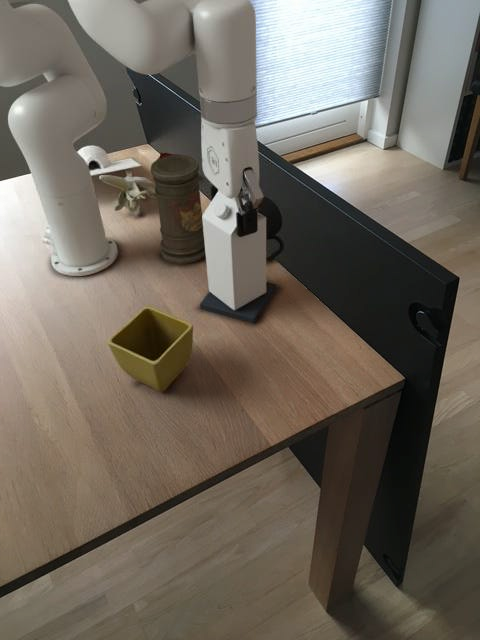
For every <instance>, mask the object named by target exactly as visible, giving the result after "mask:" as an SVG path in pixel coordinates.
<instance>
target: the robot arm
mask: <svg viewBox="0 0 480 640" xmlns="http://www.w3.org/2000/svg"><path fill="white" fill-rule="evenodd" d="M67 3H68V4H69V7H70V9H71V11H72V13H73V14H74V16H75V19H76V20H77V22H78V23H79V25H80V26H81V28H82V29H83V31H84V32H85V33H86V35H88V36H89V37H90V38H91V39H92V40H93V41H94V42H95V43H96V44H98V46H100V47H101V48H102V49H103V50H105V52H107V53H108V54H109V55H110V56H111V57H113V58H114V59H115V60H116V61H117V62H119V63H121V64H122V65H123V66H125V67H126V68H128V69H130V70H132V71H133V72H135V73H138V74H142V75H148V76H149V75H150V76H153V75H157V74H160V73H162V72H164V71H167V69H170V68H171V67H173V66H174V65H176V64H177V63H179V62H180V61H183V60H185V59H188V58H191V57H193V56H195V59H196V70H197V83H198V84H197V85H198V93H199V97H198V98H199V108H200V120H201V125H200V127H201V128H200V136H201V137H200V144H201V167H202V172H203V175H204V176H205V178H206V179H207V180H208V183H209V185H210V188H209V189H210V202H211V201H212V200H213V198H214V197H215V195H216V194H217V192H218V190H220V191H221V192H222V193H223V194H224V195H225V196H226V197H228V198H234V197H235V200H236V204H237V207H238V211H239V212H236V223H237V235H238V236H239V237H243V236H246V235H249V234H252V233H256V232H257V230H258V218H257V211H258V210H259V207H260V206H261V202H262V200H263V196H264V193H263V191H262V189H261V187H260V156H259V145H258V135H257V128H256V120H257V118H258V87H257V85H258V83H257V81H258V80H257V75H258V73H257V19H256V10H255V6H254V5H253V4H252V3H251V1H249V0H145V1H142V2H137V1H136V0H67ZM41 75H43V76H44V78H45V79H46V81H47V82H44V83H43V84H40V85H39V86H36V87H34V88H32V89H31V90H29V91H26V92H24V93H23V94H21V95H20V96H19V97H17V98H16V100H14V101H13V103H12V104H11V106H10V108H9V110H8V115H7V122H8V123H7V124H8V128H9V130H10V133H11V135H12V138H13V139H14V141H15V142H16V144H17V146H18V148H19V149H20V152H21V153H22V155H23V157H24V160H25V162H26V164H27V167H28V168H29V171H30V174H31V177H32V180H33V183H34V186H35V188H36V189H35V190H36V191H37V195H38V197H39V200H40V204H41V207H42V210H43V213H44V216H45V219H46V222H47V226H48V227H46V228H45V230H44V235H45V236H42V238H41V243H43V244H46V245H49V246H50V245H51V248H52V252H51V255H50V263H51V266H52V267H53V269H54V270H55V271H56V272H58V273H60V274H62V275H65V276H71V277H83V276H88V275H92V274H96V273H99V272H102V271H103V270H105V269H107V268H108V267H109V266H111V265H112V264H113V263H114V261H115V260H116V259H117V258H118V253H119V250H118V246H117V243H116V242H115V241H114V240H113V239H112V238H111V237H108V236H107V234H106V231H105V226H104V223H103V218H102V215H101V211H100V206H99V203H98V198H97V193H96V189H95V186H94V185H95V184H94V181H93V178H92V176H91V174H90V170H89V167H88V165H87V163H86V161H85V160H84V159H83V158H82V157H81V156H80V155H79V154H78V153H77V152H78V150H76V148H75V146H74V145H75V142H77V140H79V139H81V138H82V137H83V136H85V135H87V134H88V133H90V132H91V131H92V130H94V129H96V128H97V127H98V126H99V125H101V124H102V122H104V120H105V118H106V116H107V110H108V106H107V105H108V104H107V103H108V102H107V98H106V96H105V92H104V90H103V88H102V86H101V84H100V82H99V80H98V78H97V76H96V74H95V73H94V71H93V69H92V67H91V65H90V64H89V62H88V59H87V58H86V56H85V54H84V53H83V50H82V49H81V47H80V45H79V44H78V41H77V39H76V38H75V36H74V34H73V33H72V31H71V29H70V27H69V26H68V25H67V23H66V22H65V20H64V19H63V18H62V17H61V16H60V15H59V14H58V13H57V12H55V11H54V10H53V9H51V8H50V7H48V6H46V5H43V4H40V3H28V4H24V5H21V6H17V7H15V8H14V7H13V6H12V5H11V4H10V2H9V1H8V0H0V87H2V88H11V87H15V86H19V85H21V84H24V83H26V82H28V81H30V80H33V79H35V78H36V77H39V76H41ZM243 187H246V189H245V190H242V188H243ZM247 195H248V197H249V200H246V201H247V202H246V203H245V204H244V205H243V201H242V198H243V196H247Z"/></svg>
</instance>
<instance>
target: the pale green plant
mask: <svg viewBox="0 0 480 640" xmlns="http://www.w3.org/2000/svg"><path fill="white" fill-rule="evenodd" d="M123 170H124V172H125V175H126V176H125V177H120V176H116V175H111V174H99V177H98V178H99V180H101V181H102V182H103V183H105V184H107V185H110V186H113V187H116V188H118V189H121V191H120V192H119V194H118V196H117V199H116V202H115V205H114V207H113V208H114V211H115V212H116V211H120V210H122V209H123V208H124V207H125V208H126V209H128V210H131V212H132V213H133V214H134V215H135V216H136V217H138V216H140V215H141V205H140V200H141V199H145V200H146V197H147V195H148V196H149V198H152V197H153V198H154V199H155V198H156V193H155V182H154V181H151V180H150V179H148V178H146V177H144V176H143V177H142V176H141V177H140V176H133V171H132V168H128V169H123Z"/></svg>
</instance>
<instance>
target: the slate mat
mask: <svg viewBox="0 0 480 640" xmlns="http://www.w3.org/2000/svg"><path fill="white" fill-rule="evenodd" d="M277 289H278V284H277V283H274V282H270V281H266V293H264V294H263V295H261V296H259V297H257V298H256V299H254V300H252V301H250V302H249V303H247V304H245V305H243V306H242V307H240V308H238V309H236V310H233V309H232V308H230V307H229V306H228V305H227V304H225V303H224V302H223V301H221V300H220V299H219V298H217V297H216V296H215V295H214V294H212V293H211V292H210V291H209V292H208V293H207V294H206V296H205V297H204V299H203V300H202V301H201V302H200V304H199V308H200V310H204V311H208V312H210V313H215V314H218V315H222V316H225V317H229V318H232V319H237V320H240V321H243V322H247V323H250V324H255V323H256V322H257V320H258V318H259V316H260V315H261V314H262V312H263V310H264V309H265V307H266V306H267V304H268V303H269V301H270V299H271V298H272V297H273V295H274V293H275V292H276V291H277Z"/></svg>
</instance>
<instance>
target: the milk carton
mask: <svg viewBox="0 0 480 640" xmlns="http://www.w3.org/2000/svg"><path fill="white" fill-rule="evenodd" d="M241 198H242V201H243V205H244V204H245V203H246V202H247V201H248V200H246V199H244V198H243V197H241ZM236 212H239V211H238V207H237V204H236V200H235V197H234V198H228V197H226V196H225V195H224V194H223V193H222V192H221V191H220V190H218V192H217V194H216V195H215V197H214V198H213V200H212V201H211V200H210V203H209V204H208V205H207V207H206V209H205V211H204V212H203V213H202V221H203V232H204V243H205V253H206V255H205V262H206V263H205V264H206V273H207V284H208V291H209V292H211V293H212V294H214V295H215V296H216V297H217V298H219V299H220V300H221V301H223V302H224V303H225V304H227V305H228V306H229V307H230V308H232V309H233V310H236V309H238V308H240V307H242V306H243V305H245V304H247V303H249V302H250V301H252V300H254V299H256V298H257V297H259V296H261V295H263V294H264V293H266V282H267V261H266V257H267V241H266V217H265V216H263V215H261V214H259V213H258V212H257V218H258V230H257V232H256V233H252V234H249V235H246V236H243V237H239V236H238V235H237V223H236Z"/></svg>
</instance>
